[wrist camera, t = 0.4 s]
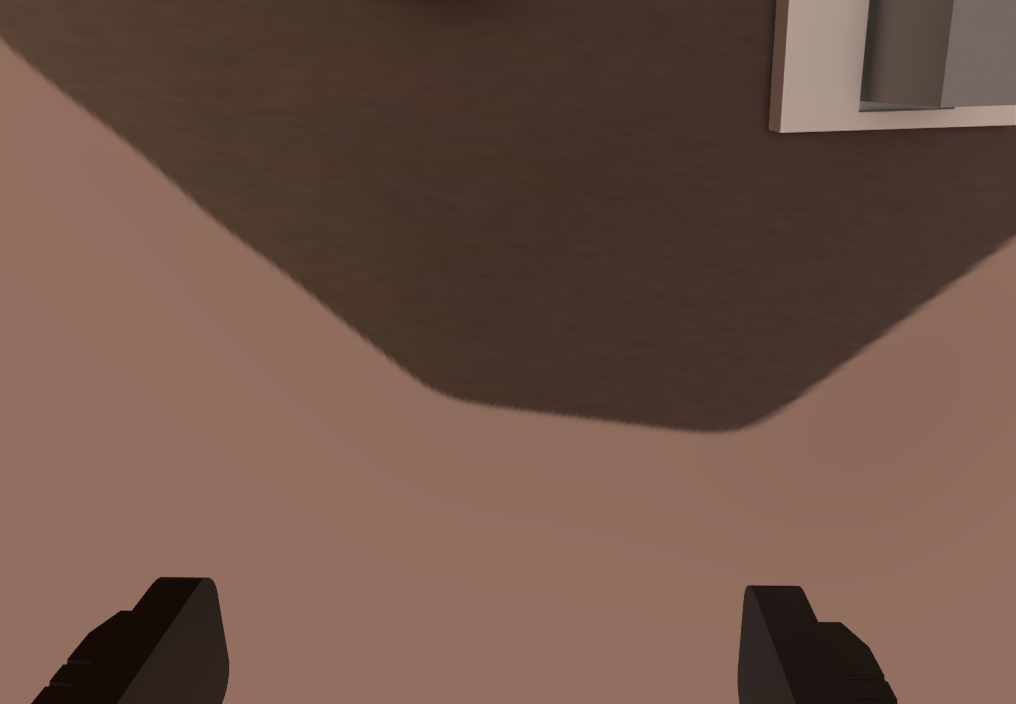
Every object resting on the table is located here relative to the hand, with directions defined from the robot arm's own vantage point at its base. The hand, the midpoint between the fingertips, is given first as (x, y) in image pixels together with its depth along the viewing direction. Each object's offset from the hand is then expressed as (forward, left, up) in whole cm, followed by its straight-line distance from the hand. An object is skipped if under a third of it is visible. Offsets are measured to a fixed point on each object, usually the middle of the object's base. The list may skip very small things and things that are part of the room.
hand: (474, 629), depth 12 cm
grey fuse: (-9, +16, -27) cm, 32 cm away
